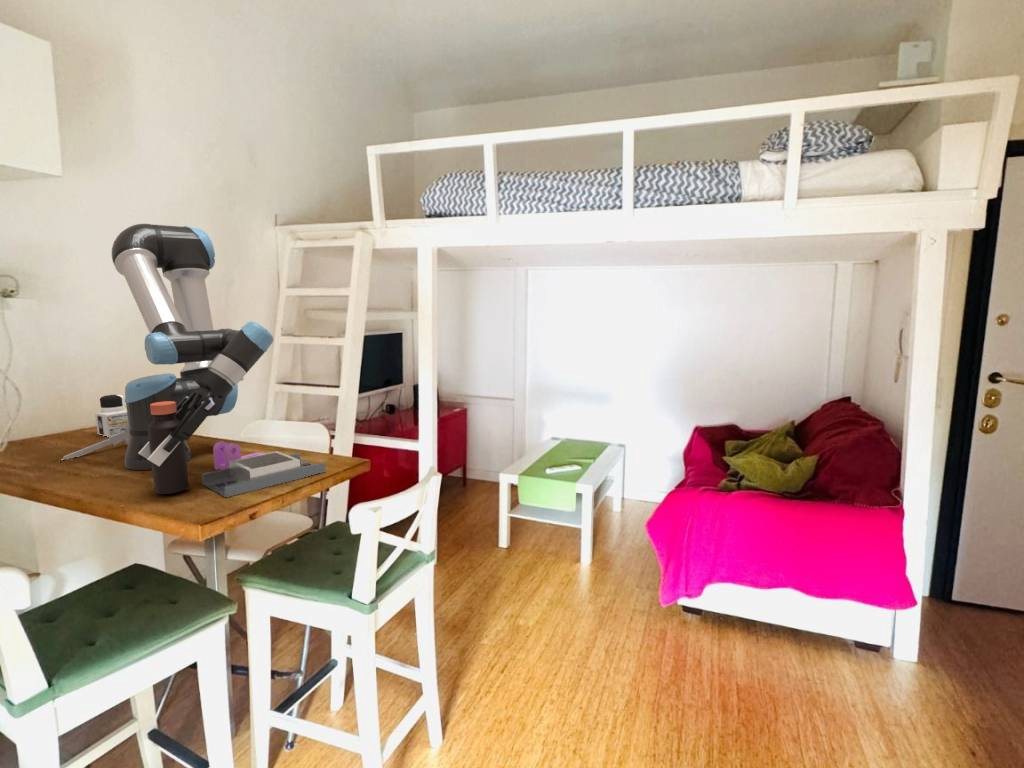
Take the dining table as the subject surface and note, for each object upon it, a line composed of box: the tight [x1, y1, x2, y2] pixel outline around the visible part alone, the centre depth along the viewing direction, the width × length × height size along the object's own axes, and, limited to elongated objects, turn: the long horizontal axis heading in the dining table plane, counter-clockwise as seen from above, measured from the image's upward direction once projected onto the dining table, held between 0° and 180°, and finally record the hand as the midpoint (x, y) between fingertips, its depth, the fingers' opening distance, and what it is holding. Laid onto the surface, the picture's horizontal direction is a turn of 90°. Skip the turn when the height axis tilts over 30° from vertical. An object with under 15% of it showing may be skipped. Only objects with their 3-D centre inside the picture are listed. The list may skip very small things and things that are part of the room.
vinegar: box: [148, 401, 190, 495], centre depth 126 cm, size 7×7×20 cm
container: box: [94, 394, 129, 438], centre depth 184 cm, size 8×8×13 cm
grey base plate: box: [201, 450, 326, 498], centre depth 137 cm, size 14×24×4 cm, turn 137°
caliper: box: [60, 426, 130, 460], centre depth 162 cm, size 20×1×6 cm, turn 154°
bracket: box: [212, 441, 265, 470], centre depth 149 cm, size 13×6×7 cm, turn 153°
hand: (148, 459), depth 124 cm, fingers closed on vinegar, 6 cm apart
